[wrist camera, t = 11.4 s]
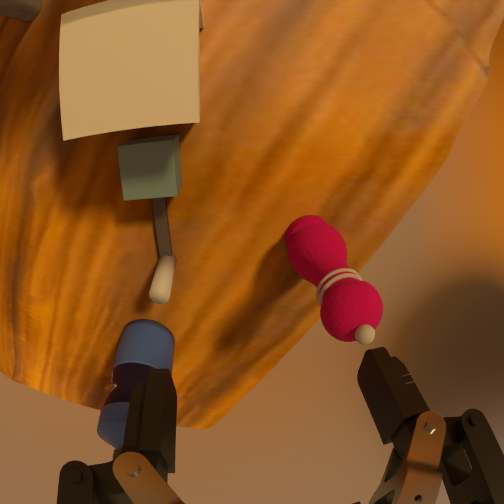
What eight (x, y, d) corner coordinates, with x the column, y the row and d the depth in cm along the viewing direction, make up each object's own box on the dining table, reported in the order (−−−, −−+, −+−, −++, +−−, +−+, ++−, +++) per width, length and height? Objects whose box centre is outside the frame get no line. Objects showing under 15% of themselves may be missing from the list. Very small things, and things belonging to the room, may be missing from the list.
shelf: (103, 33, 25) (61, 14, 15) (204, 19, 26) (199, -14, 16) (105, 126, 30) (63, 140, 21) (204, 115, 32) (199, 122, 22)
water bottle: (123, 353, 48) (99, 483, 26) (119, 314, 44) (81, 459, 22) (174, 360, 50) (168, 494, 28) (176, 322, 45) (165, 475, 24)
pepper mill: (284, 263, 42) (327, 377, 25) (278, 216, 39) (329, 321, 21) (333, 253, 42) (397, 356, 25) (331, 207, 39) (411, 298, 22)
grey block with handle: (129, 139, 32) (107, 151, 25) (179, 134, 32) (168, 144, 25) (148, 268, 40) (136, 304, 33) (190, 266, 41) (186, 303, 34)
